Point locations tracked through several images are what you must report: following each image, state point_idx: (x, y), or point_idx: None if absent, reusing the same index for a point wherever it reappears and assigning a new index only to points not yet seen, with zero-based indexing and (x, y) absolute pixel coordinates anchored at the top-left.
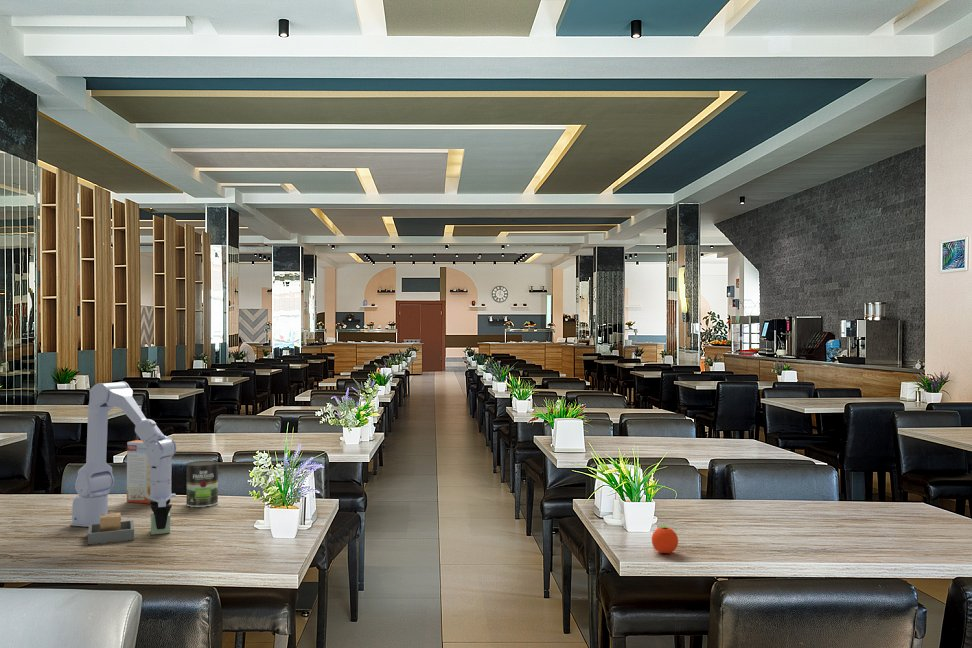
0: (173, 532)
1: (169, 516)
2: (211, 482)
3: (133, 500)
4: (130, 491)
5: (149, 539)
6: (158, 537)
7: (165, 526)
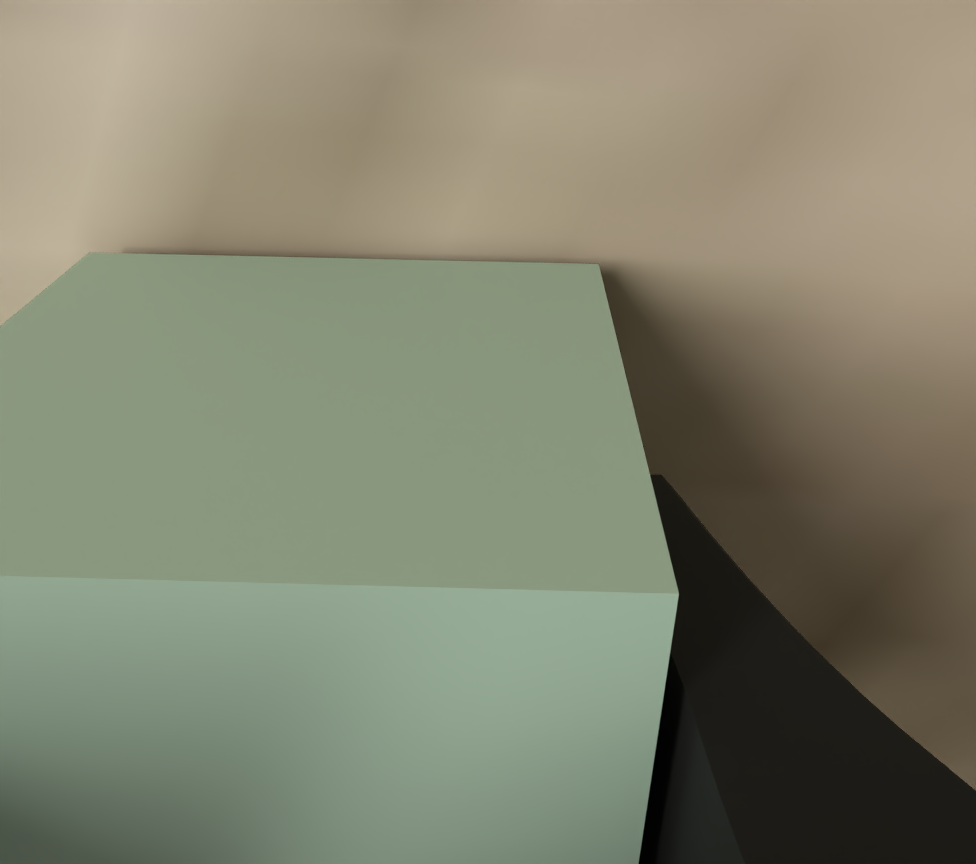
0: (527, 159)
1: (656, 594)
2: None
3: None
4: None
5: (907, 688)
6: (854, 534)
7: (678, 497)
